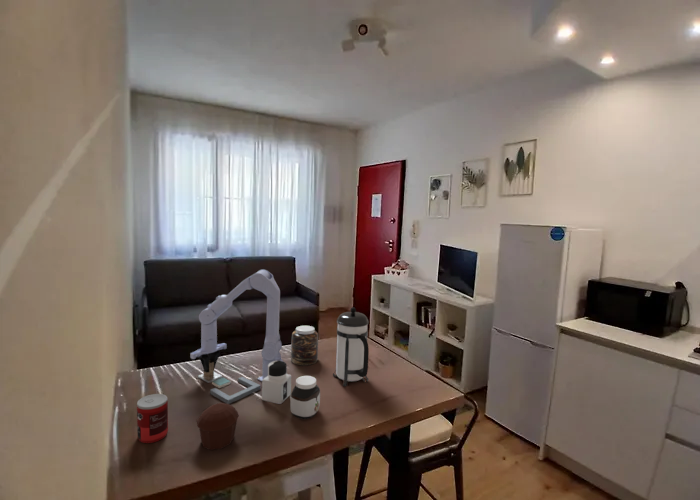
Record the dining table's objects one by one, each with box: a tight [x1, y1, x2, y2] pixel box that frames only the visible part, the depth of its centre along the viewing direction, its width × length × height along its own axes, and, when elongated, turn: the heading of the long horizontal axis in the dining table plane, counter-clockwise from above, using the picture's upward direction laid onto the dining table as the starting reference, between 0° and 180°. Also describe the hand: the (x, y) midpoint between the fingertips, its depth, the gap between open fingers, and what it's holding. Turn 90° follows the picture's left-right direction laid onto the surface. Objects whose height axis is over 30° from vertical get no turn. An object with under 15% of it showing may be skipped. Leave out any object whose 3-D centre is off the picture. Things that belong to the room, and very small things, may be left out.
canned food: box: [136, 393, 169, 444], centre depth 103 cm, size 8×8×11 cm
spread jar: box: [289, 375, 321, 420], centre depth 119 cm, size 12×11×12 cm
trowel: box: [197, 360, 223, 384], centre depth 140 cm, size 6×7×6 cm
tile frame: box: [209, 376, 262, 405], centre depth 130 cm, size 11×14×2 cm
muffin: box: [196, 402, 240, 451], centre depth 102 cm, size 12×11×10 cm
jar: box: [290, 325, 319, 366], centre depth 160 cm, size 12×12×15 cm
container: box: [261, 360, 292, 405], centre depth 127 cm, size 8×8×13 cm
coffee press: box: [332, 306, 370, 388], centre depth 142 cm, size 17×16×30 cm
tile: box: [211, 376, 232, 389], centre depth 136 cm, size 5×5×2 cm
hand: (209, 370), depth 140 cm, fingers closed on trowel
